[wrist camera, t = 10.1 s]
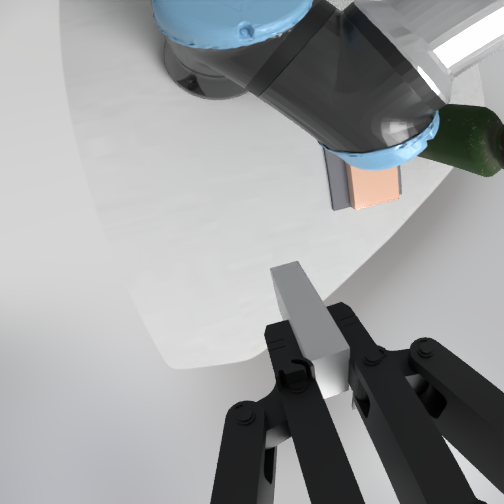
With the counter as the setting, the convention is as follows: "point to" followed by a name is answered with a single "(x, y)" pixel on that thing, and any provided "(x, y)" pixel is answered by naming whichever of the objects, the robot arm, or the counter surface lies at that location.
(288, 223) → the counter surface
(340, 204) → the mat
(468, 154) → the green bottle
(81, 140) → the counter surface
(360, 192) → the tile
